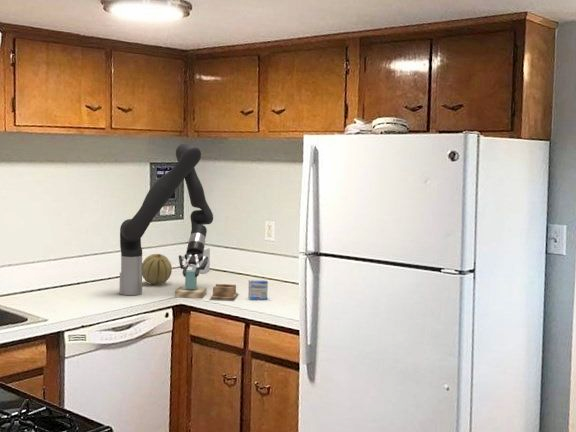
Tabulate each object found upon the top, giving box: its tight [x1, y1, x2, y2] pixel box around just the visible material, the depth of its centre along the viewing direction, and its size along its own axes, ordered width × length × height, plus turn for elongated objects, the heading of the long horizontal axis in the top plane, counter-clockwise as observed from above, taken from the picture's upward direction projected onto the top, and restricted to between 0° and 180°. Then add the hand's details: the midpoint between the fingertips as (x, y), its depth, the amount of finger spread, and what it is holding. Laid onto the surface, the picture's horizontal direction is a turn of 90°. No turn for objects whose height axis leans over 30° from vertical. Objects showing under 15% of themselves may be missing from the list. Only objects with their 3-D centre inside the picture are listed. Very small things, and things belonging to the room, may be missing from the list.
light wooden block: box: [174, 286, 208, 299], centre depth 338 cm, size 12×10×3 cm
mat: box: [208, 293, 240, 302], centre depth 337 cm, size 11×16×1 cm
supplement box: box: [191, 247, 211, 274], centre depth 400 cm, size 7×7×13 cm
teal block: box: [184, 269, 198, 290], centre depth 338 cm, size 4×3×8 cm, turn 85°
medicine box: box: [248, 279, 269, 301], centre depth 335 cm, size 8×4×9 cm, turn 101°
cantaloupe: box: [142, 253, 173, 286], centre depth 363 cm, size 15×15×15 cm
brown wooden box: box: [210, 283, 239, 300], centre depth 337 cm, size 10×12×5 cm
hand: (190, 275), depth 336 cm, fingers closed on teal block, 4 cm apart
